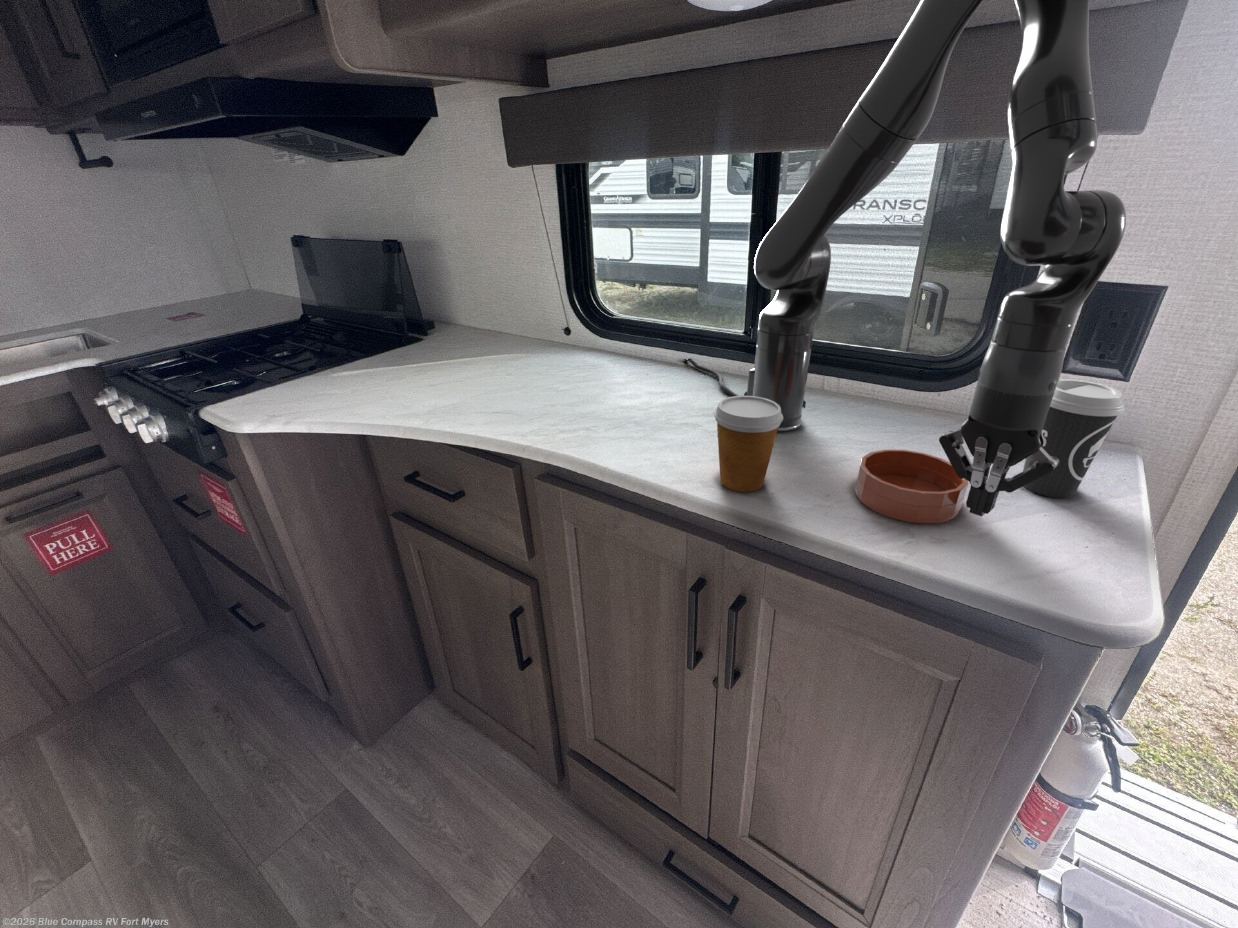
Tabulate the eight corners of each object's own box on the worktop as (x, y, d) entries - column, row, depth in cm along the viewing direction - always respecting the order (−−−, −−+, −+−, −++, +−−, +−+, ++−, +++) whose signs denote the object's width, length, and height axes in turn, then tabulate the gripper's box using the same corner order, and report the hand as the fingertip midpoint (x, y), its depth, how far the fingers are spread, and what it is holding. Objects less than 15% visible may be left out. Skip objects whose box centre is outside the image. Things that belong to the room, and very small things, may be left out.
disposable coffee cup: (783, 495, 80) (794, 417, 75) (717, 499, 80) (723, 420, 74) (763, 465, 89) (771, 393, 83) (703, 468, 88) (707, 395, 83)
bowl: (837, 497, 80) (843, 468, 78) (881, 468, 88) (887, 441, 86) (934, 535, 71) (943, 504, 69) (974, 499, 79) (983, 470, 77)
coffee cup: (1055, 471, 86) (1091, 376, 79) (1105, 503, 78) (1151, 400, 71) (993, 472, 86) (1024, 377, 79) (1037, 504, 77) (1076, 401, 71)
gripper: (1095, 388, 63) (1046, 521, 70) (966, 365, 72) (935, 485, 79) (1077, 404, 58) (1028, 544, 66) (942, 377, 67) (912, 504, 75)
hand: (977, 512), depth 73 cm, fingers closed
